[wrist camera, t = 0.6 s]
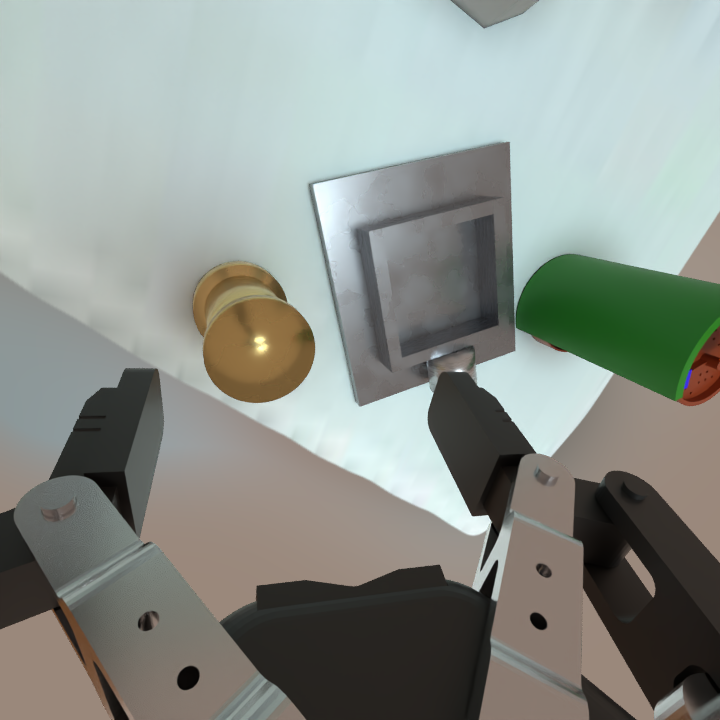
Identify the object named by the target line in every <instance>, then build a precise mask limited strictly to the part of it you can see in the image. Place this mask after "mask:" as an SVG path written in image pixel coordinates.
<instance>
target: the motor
mask: <svg viewBox="0 0 720 720" xmlns="http://www.w3.org/2000/svg"><path fill="white" fill-rule="evenodd" d="M516 328H518V329H520V330H522V331H524V332H526V333H529V334H531V335H532V336H533V338H534V339H536V340H537V341H538V342H540V343H543V344H545V345H547V346H549V347H551V348H553V349H555V350H558V351H561V352H570V353H572V354H574V355H576V356H578V357H581V358H583V359H585V360H587V361H589V362H591V363H594V364H596V365H598V366H600V367H602V368H604V369H607V370H609V371H611V372H613V373H615V374H617V375H620V376H622V377H624V378H626V379H628V380H631V381H633V382H635V383H637V384H639V385H641V386H644V387H646V388H648V389H650V390H652V391H654V392H657V393H659V394H661V395H663V396H665V397H667V398H670V399H672V400H674V401H677V402H679V403H681V404H683V405H686V406H695V405H699V404H702V403H704V402H706V401H707V400H709V399H711V398H712V397H713V396H715V395H716V394H717V393H718V392H719V391H720V284H716V283H711V282H706V281H702V280H697V279H692V278H687V277H682V276H678V275H673V274H668V273H663V272H658V271H653V270H649V269H644V268H639V267H634V266H629V265H624V264H620V263H615V262H610V261H605V260H600V259H596V258H591V257H586V256H581V255H576V254H567V255H562V256H559V257H556V258H554V259H552V260H551V261H549V262H547V263H546V264H545V265H543V266H542V267H541V268H540V269H539V270H538V271H537V272H536V273H535V274H534V275H533V277H532V278H531V279H530V281H529V282H528V284H527V285H526V287H525V289H524V291H523V293H522V295H521V298H520V301H519V304H518V308H517V314H516Z"/></svg>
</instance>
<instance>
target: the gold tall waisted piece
mask: <svg viewBox="0 0 720 720" xmlns="http://www.w3.org/2000/svg"><path fill="white" fill-rule="evenodd" d="M193 313H194V319H195V323H196V326H197V328H198V330H199V332H200V333H201V335H202V336H203V337H204V338H203V357H204V364H205V367H206V370H207V373H208V375H209V377H210V378H211V380H212V381H213V383H214V384H215V385H216V386H217V387H218V388H219V389H220V390H221V391H222V392H224V393H225V394H227V395H228V396H230V397H232V398H234V399H237V400H240V401H244V402H251V403H263V402H269V401H273V400H276V399H279V398H281V397H283V396H285V395H287V394H289V393H290V392H292V391H293V390H294V389H296V388H297V387H298V386H299V385H300V384H301V383H302V382H303V380H304V379H305V378H306V376H307V375H308V373H309V371H310V369H311V367H312V364H313V360H314V355H315V342H314V336H313V333H312V330H311V328H310V326H309V324H308V323H307V321H306V320H305V319H304V318H303V316H302V315H301V314H300V313H299V312H298V311H297V310H296V309H295V308H294V307H293V306H292V305H290V304H289V303H287V299H286V296H285V293H284V291H283V289H282V287H281V286H280V284H279V283H278V282H277V281H276V280H275V279H274V277H273V276H272V275H271V274H270V273H268V272H267V271H266V270H264V269H263V268H261V267H259V266H257V265H255V264H252V263H248V262H242V261H233V262H227V263H224V264H220V265H218V266H216V267H214V268H213V269H211V270H210V271H209V272H207V273H206V274H205V275H204V276H203V278H202V279H201V280H200V282H199V283H198V285H197V287H196V289H195V293H194V297H193Z"/></svg>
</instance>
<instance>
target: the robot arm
mask: <svg viewBox="0 0 720 720" xmlns="http://www.w3.org/2000/svg"><path fill="white" fill-rule="evenodd" d="M163 419H164V416H163V406H162V397H161V388H160V379H159V372H158V369H145V368H142V369H140V368H136V369H135V368H126V369H125V370H124V372H123V374H122V377H121V380H120V382H119V385H118V387H117V388H101V389H100V390H99V391H97V392H96V393H95V394H94V395H93V396H91V397H90V398H89V399H88V400H87V401H86V402H85V405H84V407H83V409H82V411H81V413H80V415H79V419H77V421H76V424H75V426H74V428H73V432H71V435H70V436H69V438H68V441H67V443H66V445H65V447H64V449H63V451H62V453H61V455H60V458H59V459H58V462H57V464H56V466H55V468H54V470H53V472H52V474H51V476H50V478H49V480H48V481H46V482H43V483H41V484H40V485H37V486H36V487H34V488H33V489H31V490H30V491H29V492H28V493H26V494H25V495H24V496H23V497H22V498H21V500H20V501H19V502H18V504H17V506H16V508H14V509H11V510H9V511H6V512H3V513H1V514H0V629H2V628H5V627H7V626H10V625H12V624H15V623H18V622H20V621H23V620H25V619H28V618H30V617H33V616H35V615H38V614H40V613H43V612H46V611H48V610H52V611H53V613H54V615H55V616H56V618H57V620H58V622H59V624H60V625H61V627H62V629H63V631H64V632H65V634H66V636H67V638H68V640H69V642H70V643H71V645H72V647H73V649H74V650H75V652H76V654H77V656H78V658H79V659H80V661H81V663H82V664H83V667H84V668H85V670H86V672H87V674H88V676H89V677H90V679H91V681H92V683H93V685H94V687H95V689H96V692H97V694H98V696H99V698H100V700H101V702H102V704H103V706H104V707H105V710H106V711H107V713H108V715H109V717H110V719H111V720H636V719H635V718H634V717H633V716H631V715H630V714H629V713H628V712H626V711H625V710H624V709H623V708H622V707H620V706H619V705H618V704H617V703H615V702H614V701H613V700H612V699H611V698H610V697H608V696H607V695H606V694H605V693H604V692H602V691H601V690H600V689H599V688H597V687H596V686H595V685H594V684H593V683H591V682H590V681H589V680H587V678H585V677H584V676H583V675H582V674H581V657H582V602H583V601H582V600H583V589H584V591H585V592H586V594H587V596H588V598H589V599H590V601H591V603H592V604H593V606H594V608H595V610H596V611H597V613H598V615H599V616H600V618H601V620H602V622H603V623H604V625H605V627H606V629H607V630H608V632H609V634H610V636H611V637H612V639H613V641H614V642H615V644H616V646H617V648H618V649H619V651H620V653H621V654H622V656H623V658H624V660H625V662H626V663H627V665H628V667H629V668H630V670H631V672H632V674H633V675H634V677H635V679H636V681H637V682H638V684H639V686H640V687H641V689H642V691H643V693H644V694H645V696H646V698H647V699H648V701H649V702H650V704H651V706H652V708H653V710H654V720H720V563H719V562H718V561H717V559H716V558H715V557H714V556H713V555H712V554H711V553H710V551H709V550H708V549H707V548H706V547H705V546H704V545H703V544H702V542H701V541H700V540H699V539H698V538H697V537H696V536H695V534H694V533H693V532H692V531H691V530H690V529H689V528H688V527H687V526H686V524H685V523H684V522H683V521H682V520H681V519H680V517H679V516H677V514H676V513H675V512H674V511H673V510H672V508H671V507H670V506H669V505H668V504H667V503H666V502H665V500H664V499H662V497H661V496H660V495H659V494H658V493H657V491H655V489H654V488H653V487H652V486H650V485H649V484H648V483H646V482H645V481H644V480H642V479H640V478H639V477H637V476H635V475H632V474H630V473H627V472H623V471H611V472H609V473H607V474H606V476H605V477H604V478H603V480H602V482H601V483H595V482H591V481H586V480H581V479H576V478H573V476H572V474H571V473H570V471H569V470H568V469H567V468H566V467H565V466H564V465H563V464H561V463H560V462H558V461H557V460H555V459H553V458H551V457H549V456H546V455H542V454H537V453H536V452H535V451H534V449H533V448H532V447H531V445H530V444H529V442H528V441H527V440H526V438H525V437H524V436H523V434H522V433H521V432H520V430H519V429H518V427H517V426H516V425H515V423H514V422H512V421H511V418H510V417H509V415H508V414H507V412H504V408H503V407H502V406H501V404H500V403H499V402H498V400H497V399H496V398H495V397H494V396H493V395H491V394H490V393H489V392H487V391H486V390H485V389H483V388H479V387H478V386H477V384H476V383H475V382H474V380H473V379H472V377H471V376H470V375H469V373H467V372H442V373H441V374H440V375H439V378H438V381H437V384H436V387H435V391H434V394H433V397H432V400H431V404H430V407H429V411H428V425H429V429H430V432H431V434H432V436H433V438H434V440H435V442H436V444H437V446H438V448H439V450H440V452H441V454H442V456H443V458H444V460H445V462H446V464H447V466H448V468H449V470H450V472H451V474H452V476H453V478H454V480H455V482H456V484H457V486H458V488H459V490H460V492H461V495H462V497H463V499H464V501H465V503H466V505H467V507H468V509H469V511H470V513H471V515H472V516H482V515H488V516H489V518H490V519H491V522H490V524H489V526H488V529H487V533H486V536H485V540H484V545H483V548H482V552H481V556H480V560H479V564H478V568H477V572H476V575H475V579H474V583H473V586H472V588H471V587H469V586H466V585H464V584H461V583H458V582H454V581H451V580H446V579H445V578H444V575H443V572H442V569H441V567H440V565H433V566H425V567H416V568H407V569H398V570H396V571H393V572H391V573H389V574H386V575H384V576H382V577H379V578H377V579H374V580H372V581H369V582H367V583H364V584H362V585H359V586H355V587H353V586H344V585H337V584H329V583H322V582H315V581H307V580H303V581H294V582H285V583H277V584H269V585H259V586H257V590H256V601H255V602H253V603H250V604H248V605H246V606H244V607H242V608H240V609H238V610H237V611H235V612H233V613H232V614H230V615H229V616H227V617H226V618H224V619H223V620H222V621H221V622H218V621H217V619H216V618H215V617H214V616H213V614H212V613H211V612H210V611H209V609H208V608H207V607H206V606H205V604H204V603H203V602H202V601H201V599H200V598H199V597H198V596H197V594H196V593H195V592H194V591H193V589H192V588H191V587H190V586H189V584H188V583H187V582H186V581H185V580H184V578H183V577H182V576H181V574H180V573H179V572H178V571H177V569H176V568H175V567H174V566H173V564H172V563H171V562H170V561H169V559H168V558H167V557H166V556H165V554H164V553H163V552H162V551H161V550H160V548H159V547H158V546H157V545H156V544H154V543H153V542H148V543H146V544H144V543H143V542H142V541H141V540H140V539H139V538H140V534H141V529H142V524H143V520H144V516H145V511H146V507H147V503H148V498H149V494H150V489H151V485H152V480H153V476H154V471H155V467H156V463H157V458H158V454H159V450H160V444H161V441H162V435H163V426H164V420H163ZM631 549H633V551H634V552H635V553H636V555H637V556H638V558H639V559H640V560H641V562H642V563H643V564H644V566H645V567H646V569H647V570H648V571H649V573H650V574H651V576H652V578H653V580H654V583H655V588H656V591H655V596H654V598H653V597H652V596H651V594H650V593H649V591H648V590H647V589H646V587H645V586H644V584H643V583H642V582H641V580H640V579H639V577H638V576H637V575H636V573H635V571H634V570H633V569H632V567H631V566H630V564H629V563H628V562H627V560H626V559H625V556H626V555H627V554H628V552H629V551H630V550H631Z"/></svg>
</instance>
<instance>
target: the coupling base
mask: <svg viewBox="0 0 720 720" xmlns="http://www.w3.org/2000/svg"><path fill="white" fill-rule="evenodd" d="M309 186H310V191H311V195H312V200H313V205H314V209H315V214H316V219H317V223H318V228H319V233H320V237H321V242H322V247H323V251H324V256H325V261H326V265H327V270H328V275H329V279H330V284H331V289H332V293H333V298H334V302H335V307H336V312H337V316H338V321H339V326H340V330H341V335H342V340H343V344H344V349H345V354H346V358H347V363H348V368H349V372H350V377H351V382H352V386H353V391H354V396H355V400H356V403H357V404H358V405H359V406H363V405H366V404H369V403H372V402H374V401H377V400H380V399H383V398H385V397H388V396H391V395H394V394H397V393H399V392H402V391H405V390H408V389H410V388H413V387H416V386H419V385H421V384H424V383H427V382H429V385H430V389H431V391H432V392H434V391H435V387H436V384H437V381H438V378H439V375H440V374H441V373H442V372H467V373H469V375H470V376H471V377H472V379H473V380H474V382H475V383H476V384H477V374H476V365H477V364H480V363H483V362H485V361H488V360H491V359H494V358H496V357H499V356H502V355H505V354H508V353H510V352H513V351H515V322H514V286H513V249H512V213H511V177H510V142H503V143H498V144H493V145H488V146H484V147H479V148H474V149H470V150H465V151H461V152H456V153H451V154H447V155H442V156H438V157H433V158H428V159H424V160H419V161H415V162H410V163H405V164H401V165H396V166H392V167H387V168H382V169H378V170H373V171H369V172H364V173H359V174H355V175H350V176H345V177H341V178H336V179H332V180H327V181H322V182H318V183H313V184H309Z"/></svg>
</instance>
